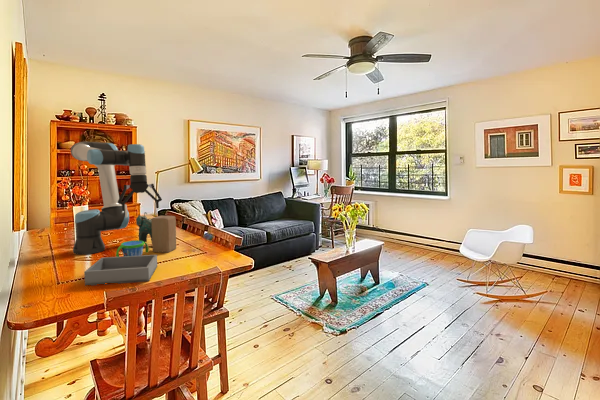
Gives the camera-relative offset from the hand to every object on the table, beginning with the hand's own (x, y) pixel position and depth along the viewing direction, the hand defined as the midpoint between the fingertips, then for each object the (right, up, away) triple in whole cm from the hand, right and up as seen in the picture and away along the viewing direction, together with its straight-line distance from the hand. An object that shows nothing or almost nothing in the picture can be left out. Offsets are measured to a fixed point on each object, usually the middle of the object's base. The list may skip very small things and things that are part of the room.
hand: (141, 216), depth 159 cm
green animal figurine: (-14, -20, +37) cm, 44 cm away
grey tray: (+2, -26, -20) cm, 32 cm away
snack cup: (-4, -24, -1) cm, 24 cm away
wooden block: (+2, -22, +22) cm, 31 cm away
